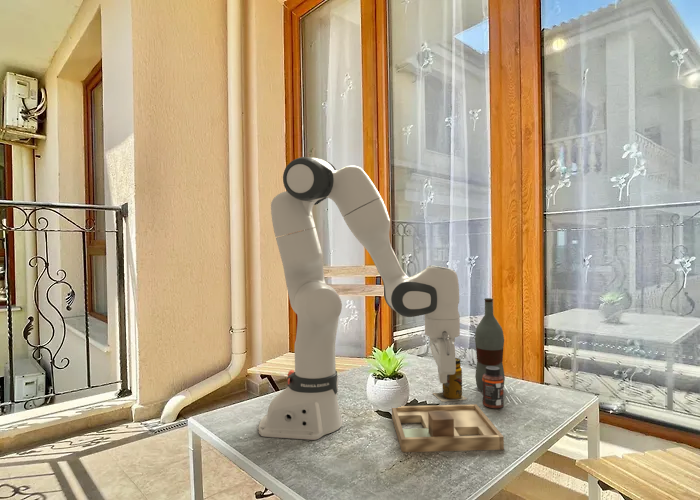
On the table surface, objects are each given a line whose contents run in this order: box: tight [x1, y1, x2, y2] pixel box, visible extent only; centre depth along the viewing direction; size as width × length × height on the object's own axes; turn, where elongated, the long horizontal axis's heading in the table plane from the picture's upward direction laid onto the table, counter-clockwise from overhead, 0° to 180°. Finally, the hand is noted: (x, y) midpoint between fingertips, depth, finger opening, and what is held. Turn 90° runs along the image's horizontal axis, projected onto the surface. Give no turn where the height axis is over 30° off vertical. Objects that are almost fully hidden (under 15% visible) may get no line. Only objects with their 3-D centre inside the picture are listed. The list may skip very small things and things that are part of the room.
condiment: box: [432, 357, 468, 403], centre depth 133 cm, size 7×8×12 cm
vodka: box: [474, 297, 506, 392], centre depth 139 cm, size 9×9×30 cm
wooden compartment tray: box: [391, 403, 505, 453], centre depth 108 cm, size 24×20×3 cm
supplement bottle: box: [482, 366, 505, 409], centre depth 125 cm, size 6×6×11 cm
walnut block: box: [428, 411, 454, 437], centre depth 102 cm, size 5×5×5 cm
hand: (442, 381), depth 109 cm, fingers closed
